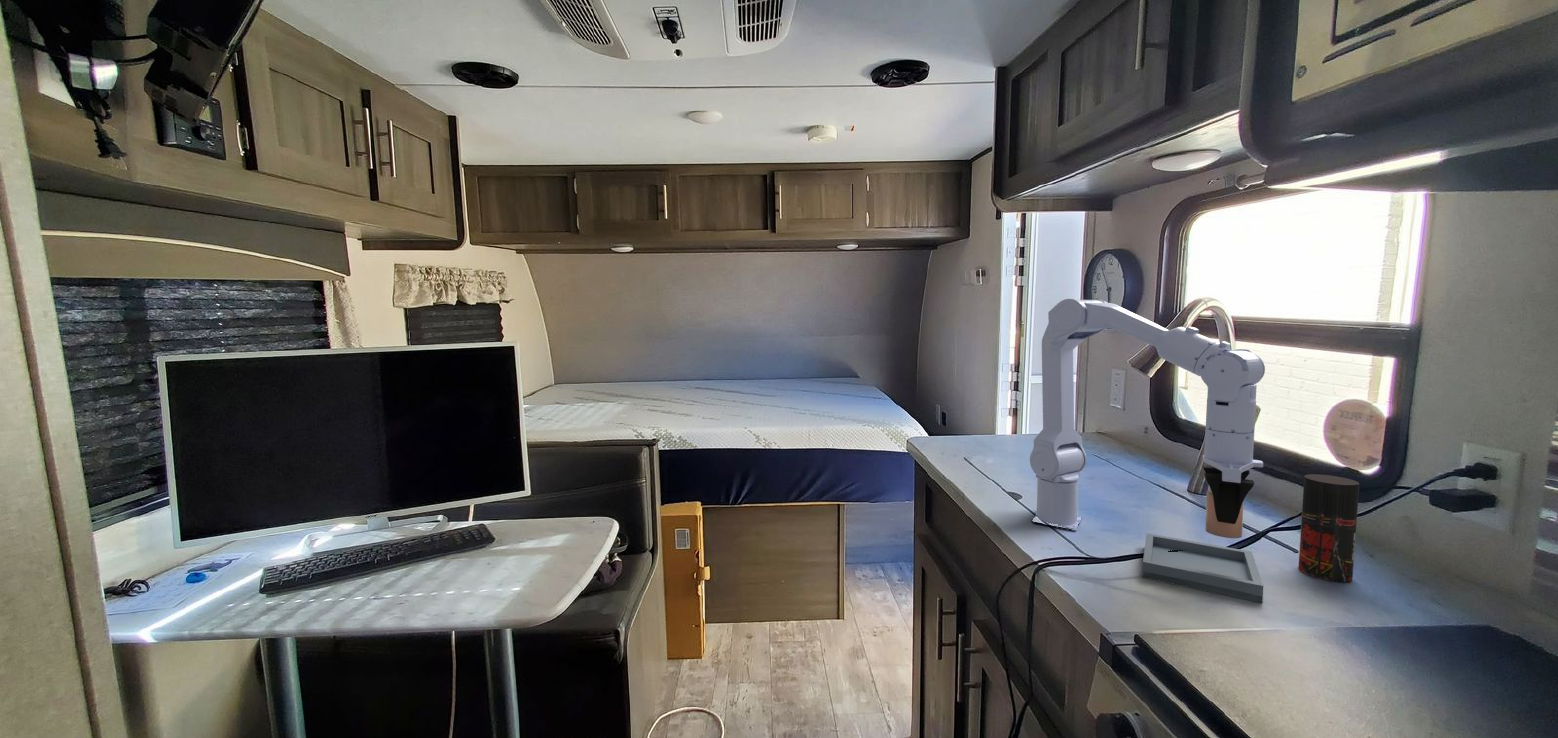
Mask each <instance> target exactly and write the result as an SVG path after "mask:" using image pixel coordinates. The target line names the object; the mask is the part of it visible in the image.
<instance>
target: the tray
mask: <svg viewBox="0 0 1558 738" xmlns="http://www.w3.org/2000/svg"><path fill="white" fill-rule="evenodd" d="M1170 550H1171V551H1172V550H1183V551H1178V552H1168V551H1170ZM1142 578H1144V579H1149V580H1153V581H1158V582H1162V583H1167V584H1171V585H1177V586H1181V587H1185V588H1190V589H1195V590H1199V591H1205V592H1208V593H1214V594H1219V595H1223V596H1227V597H1230V598H1231V597H1232V598H1237V599H1241V600H1246V601H1251V602H1255V603H1260V604H1263V600H1264V584H1263V581H1262V578H1261V575H1260V572H1259V568H1258V566H1257V563H1256V561H1255V558H1254V554H1253V551H1250V550H1244V549H1240V548H1239V549H1238V548H1234V547H1233V548H1232V547H1229V546H1228V547H1227V546H1221V545H1216V544H1210V543H1204V542H1199V541H1193V540H1189V539H1188V540H1187V539H1182V538H1177V537H1170V536H1165V535H1158V534H1155V533H1147V532H1146V536H1145V543H1144V551H1143V557H1142Z"/></svg>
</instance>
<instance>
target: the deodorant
mask: <svg viewBox="0 0 1558 738" xmlns="http://www.w3.org/2000/svg"><path fill="white" fill-rule="evenodd" d="M1302 490H1303V491H1302V492H1303V493H1302V504H1301V505H1302V506H1301V507H1302V508H1301V522H1300V523H1301V524H1300V534H1299V535H1300V537H1299V538H1300V540H1299V551H1298V552H1299V553H1298V567H1297V568H1298V570H1299V572H1300V573H1303V574H1304V575H1307V576H1308V577H1312V578H1315V579H1318V580H1321V581H1325V582H1326V581H1327V582H1330V583H1337V584H1347V583H1352V582H1353V580H1354V579H1353V575H1354V564H1355V563H1354V562H1355V549H1356V535H1357V521H1358V509H1359V496H1360V495H1359V493H1360V482H1358V481H1356V480H1353V479H1351V478H1346V477H1343V476H1341V477H1340V476H1335V475H1331V474H1330V475H1329V474H1316V473H1315V474H1314V473H1313V474H1312V473H1311V474H1310V473H1309V474H1305V475H1304V476H1303V489H1302Z"/></svg>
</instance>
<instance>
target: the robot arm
mask: <svg viewBox="0 0 1558 738" xmlns="http://www.w3.org/2000/svg"><path fill="white" fill-rule="evenodd" d="M1047 316H1048V324H1047V325H1046V328H1045V331H1044V332H1043V335H1042V338H1041V377H1042V378H1041V381H1042V382H1041V383H1042V388H1041V389H1042V429H1041V431H1040V432H1038V434H1037V436H1035V438H1034V440H1033V448H1032V451H1031V453H1030V456H1029V464H1030V467H1031V469H1032V472H1033V473H1034V474H1035V478H1037V479H1036V480H1037V483H1036V485H1037V486H1036V489H1037V490H1036V512H1037V517H1038V518H1039V519H1040V520H1043V521H1045V522H1048V523H1051V524H1052V523H1053V524H1058V526H1061V525H1062V527H1065V528H1071V529H1077V530H1078V528H1079V526H1078V524H1079V523H1078V522H1077V520H1081V521H1082V519H1081V517H1077V514H1078V505H1079V503H1078V499H1079V478H1080V476H1081V475H1080V473H1081V472H1082V471H1083V470H1084V469H1085V468H1086V466H1087V461H1088V457H1087V453H1086V451H1085V449H1084V446H1083V437H1082V436H1081V435H1080V434H1079V432H1077V430H1075V395H1074V394H1075V393H1074V392H1075V389H1074V387H1075V385H1074V383H1075V382H1074V349H1075V348H1077V347H1078V346H1079V345H1080V344H1082V342H1084V341H1085V340H1086V339H1087V338H1089V337H1091V336H1094V335H1097V334H1099V333H1102V332H1103V331H1105V330H1107V329H1111V330H1114V331H1116V332H1119V333H1120V334H1123V335H1126V336H1128V337H1131V338H1133V339H1136V340H1139V341H1141V342H1143V343H1145V344H1148V345H1150V346H1153V347H1155V348H1156V351H1157V354H1158V357H1159V358H1160V359H1162V360H1165V361H1166V362H1168V363H1171V364H1173V365H1175V366H1177V367H1179V368H1181V369H1183V370H1185V371H1187V372H1189V373H1192V374H1194V375H1196V376H1198V377H1200V378H1201V380H1202V382H1203V383H1204V384H1205V386H1206V387H1207V395H1206V396H1207V398H1206V412H1205V415H1206V416H1205V433H1204V434H1205V436H1204V454H1202V462H1203V463H1205V464H1203V465H1202V468H1203V470H1204V479H1205V481H1206V482H1207V484H1209V486H1210V488H1211V491H1212V494H1213V500H1214V507H1215V513H1216V518H1217V521H1218V522H1224V523H1230V524H1235V523H1236V521H1237V519H1238V516H1239V513H1240V509H1241V506H1242V503H1243V504H1244V502H1243V501H1245V498H1246V497H1247V495H1248V493H1249V492H1250V491H1251V490H1252V489H1253V487H1254V486H1255V482H1254V480H1253V479H1247V477H1248V476H1249V475H1250V469H1252V468H1264V462H1263V461H1262V460H1258V459H1254V447H1255V446H1254V445H1255V444H1254V443H1255V429H1256V428H1255V427H1256V412H1257V411H1256V407H1257V384H1258V383H1259V382H1261V380H1262V379H1263V377H1264V376H1265V372H1266V367H1265V363H1264V361H1263V360H1262V358H1261V357H1260V356H1259V355H1257V354H1256V353H1253V351H1251V350H1250V349H1246V348H1242V349H1241V348H1238V349H1231V345H1232V344H1231V343H1230V342H1227V341H1220V342H1219V341H1217V340H1214V339H1211V338H1209V337H1207V336H1205V335H1202V334H1200V333H1199V332H1200V329H1198V328H1197V327H1193V326H1186V328H1185V327H1183V326H1178V327H1174V328H1172V329H1168V328H1166V327H1163V326H1161V325H1159V324H1158V323H1156V322H1153V321H1151V320H1149V319H1147V318H1145V317H1143V316H1141V315H1138V314H1136V313H1134V312H1132V311H1130V310H1128V309H1126V308H1123V307H1122V306H1119V305H1118V304H1115V303H1111V302H1107V301H1105V300H1103V299H1100V298H1098V299H1097V298H1096V299H1094V298H1093V299H1075V298H1066V299H1063V300H1060V301H1059V302H1058V303H1056V305H1054V306H1053V307H1052V308H1051V309H1050V310H1049V311H1048V315H1047ZM1079 525H1080V524H1079ZM1077 527H1078V528H1077Z"/></svg>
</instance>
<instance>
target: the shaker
mask: <svg viewBox="0 0 1558 738" xmlns="http://www.w3.org/2000/svg"><path fill="white" fill-rule="evenodd" d="M1207 484H1208V483H1207ZM1205 494H1206V495H1205V496H1206V497H1205V498H1206V499H1205V500H1206V501H1205V532H1206V533H1208V534H1210V535H1213V536H1216V537H1219V538H1220V537H1221V538H1226V539H1240V538H1242V537H1243V527H1244V526H1243V524H1244V523H1243V522H1244V501H1245V500H1244V501H1243V503H1242V506H1241V509H1240V513H1239V516H1238V519H1237V521H1236V523H1235V524H1230V523H1224V522H1218V521H1217V518H1216V513H1215V507H1214V500H1213V494H1212V491H1211V488H1210V486H1209V484H1208V487H1207V491H1206V493H1205Z"/></svg>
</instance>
